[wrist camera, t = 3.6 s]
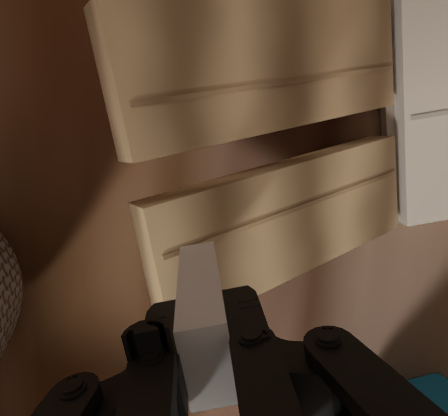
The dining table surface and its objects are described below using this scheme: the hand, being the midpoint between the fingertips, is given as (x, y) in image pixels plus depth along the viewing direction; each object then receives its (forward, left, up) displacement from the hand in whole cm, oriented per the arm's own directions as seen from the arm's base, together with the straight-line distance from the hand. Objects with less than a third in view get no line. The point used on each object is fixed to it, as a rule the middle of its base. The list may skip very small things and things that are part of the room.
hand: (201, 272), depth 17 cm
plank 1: (+5, +8, -6) cm, 12 cm away
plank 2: (+5, 0, -6) cm, 8 cm away
